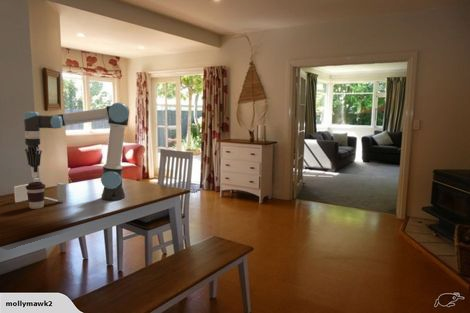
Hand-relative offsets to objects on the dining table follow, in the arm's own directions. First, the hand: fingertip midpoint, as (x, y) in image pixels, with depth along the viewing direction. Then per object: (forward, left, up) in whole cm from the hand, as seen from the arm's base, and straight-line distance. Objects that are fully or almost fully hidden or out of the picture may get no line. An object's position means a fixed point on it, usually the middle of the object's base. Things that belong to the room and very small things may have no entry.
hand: (34, 177), depth 195 cm
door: (-7, -18, -18) cm, 26 cm away
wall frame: (-14, -9, -18) cm, 25 cm away
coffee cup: (+1, +1, -19) cm, 19 cm away
